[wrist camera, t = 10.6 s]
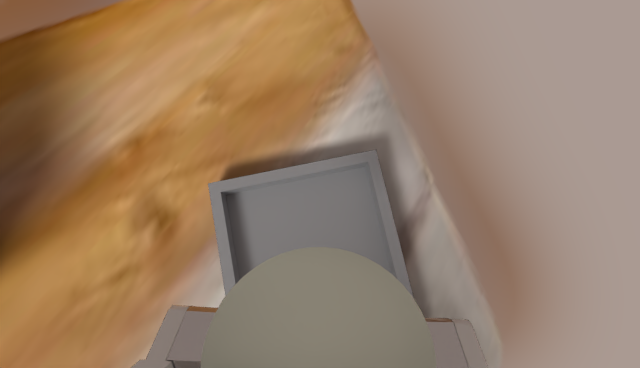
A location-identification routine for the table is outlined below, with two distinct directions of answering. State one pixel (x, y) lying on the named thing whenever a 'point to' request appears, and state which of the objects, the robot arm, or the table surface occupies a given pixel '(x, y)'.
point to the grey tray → (306, 215)
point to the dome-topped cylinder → (318, 316)
